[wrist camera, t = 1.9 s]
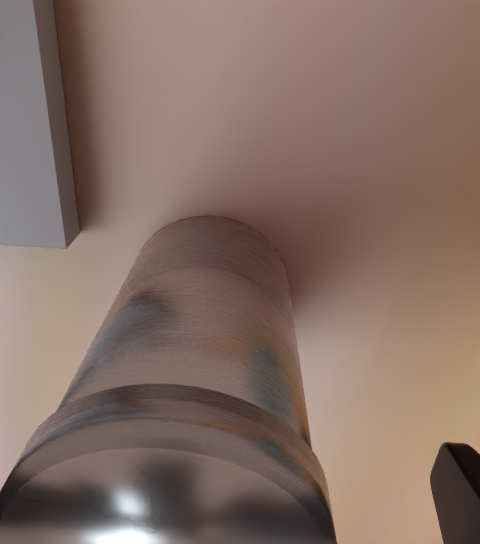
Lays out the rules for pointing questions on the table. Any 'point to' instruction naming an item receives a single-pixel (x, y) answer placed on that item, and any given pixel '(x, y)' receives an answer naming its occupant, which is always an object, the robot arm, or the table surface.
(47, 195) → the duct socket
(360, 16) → the table surface
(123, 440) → the cylinder
